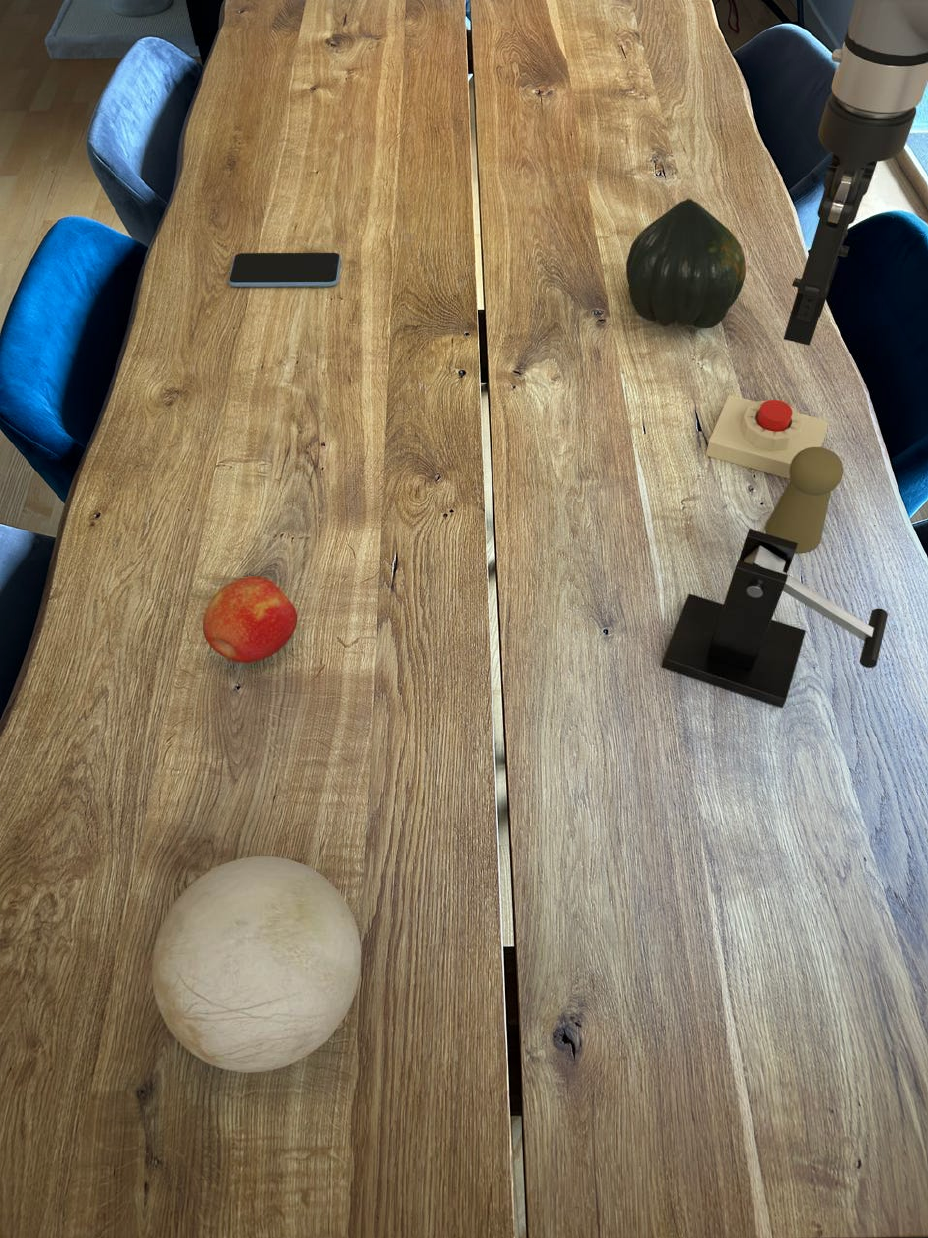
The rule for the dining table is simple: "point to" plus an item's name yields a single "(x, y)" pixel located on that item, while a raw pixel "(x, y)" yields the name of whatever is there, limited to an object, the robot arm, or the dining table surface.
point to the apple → (249, 620)
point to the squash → (685, 268)
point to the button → (774, 415)
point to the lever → (829, 608)
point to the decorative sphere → (256, 964)
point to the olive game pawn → (806, 498)
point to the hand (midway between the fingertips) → (802, 325)
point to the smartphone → (285, 269)
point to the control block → (762, 438)
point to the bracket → (741, 631)
